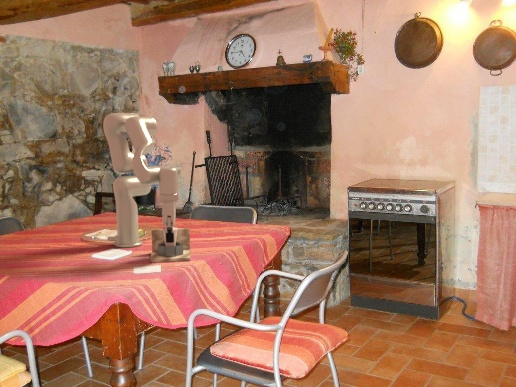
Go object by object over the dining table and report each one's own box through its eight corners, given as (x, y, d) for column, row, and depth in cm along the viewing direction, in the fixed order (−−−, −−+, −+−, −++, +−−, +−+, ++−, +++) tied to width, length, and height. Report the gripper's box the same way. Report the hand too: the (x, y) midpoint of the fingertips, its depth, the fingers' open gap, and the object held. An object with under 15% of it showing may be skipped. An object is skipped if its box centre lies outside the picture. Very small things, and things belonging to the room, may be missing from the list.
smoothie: (171, 248, 221) (170, 216, 219) (181, 250, 217) (180, 217, 215) (159, 251, 216) (158, 218, 214) (169, 253, 212) (168, 219, 210)
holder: (150, 262, 208) (149, 237, 206) (152, 252, 223) (151, 229, 222) (190, 260, 210) (189, 235, 208) (190, 251, 226) (189, 228, 224)
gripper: (160, 195, 221) (161, 236, 224) (158, 200, 204) (160, 245, 207) (178, 194, 222) (179, 236, 225) (178, 200, 206) (179, 245, 208)
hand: (170, 240), depth 216 cm, fingers closed on smoothie, 6 cm apart
